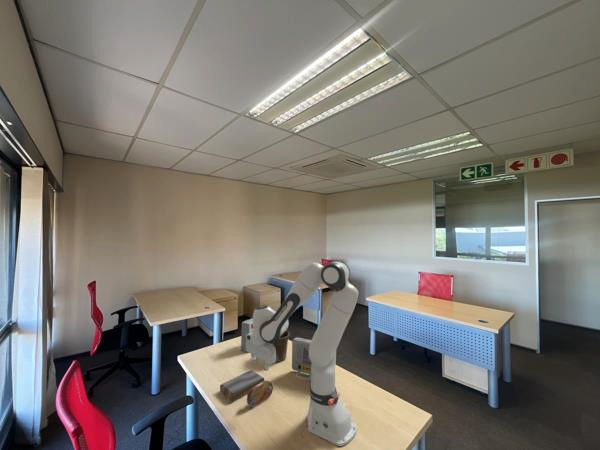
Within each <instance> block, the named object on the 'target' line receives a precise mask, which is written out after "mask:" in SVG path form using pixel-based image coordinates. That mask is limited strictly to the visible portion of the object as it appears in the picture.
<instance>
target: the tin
mask: <svg viewBox="0 0 600 450" xmlns="http://www.w3.org/2000/svg"><path fill="white" fill-rule="evenodd" d="M273 391H274V384H273V382H272V381H269V380H267V379H266V380H265V379H264V381H263V382H261V383H259V384H258V385H256V386H254V387H253V388H251V389H250V391H249V392H248V394H247V395H246V402H247V404H248V406H250V407H251V408H257V407H258V406H259V405H261V404H262V403H264V402H266V401H267V400H268V399H270V397H271V396H272V394H273Z"/></svg>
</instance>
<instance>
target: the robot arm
mask: <svg viewBox="0 0 600 450" xmlns="http://www.w3.org/2000/svg"><path fill="white" fill-rule="evenodd" d="M350 278H351V270H350V267H349V266H348V265H347V264H346V263H345V262H343V261H332V262H328V263H327V264H325V265H322V264H321V263H318V262H315V261H313V262H312V261H311V263H309V264H307V266H305V268H304V269H303V270H302V271H301V272H300V274H299V275H298V276H297V278H295V281H294V282H293V284H292V286H291V288H290V289H289V291H288V294H287V295H286V297H285V298H284V300H283V302H282V303H281V305H280V306H279V307H278V308H277V310H276V311H275V310H274V309H272V308H271V307H270V305H266V304H265V305H264V304H263V305H259V306H257V307H256V308H254V309H253V310H254V311H253V314H252V318H253V331H252V333H249V334H247V335H246V339H247V340H246V350H247V352H249V353H248V354H250V357H251V363H252V364H257V358H258V359H259V360H261V361H262V362H264V363H265V365H264V366H263V370H264V371H265V372H268V371H269V367H270V365H273V364H275V363H277V362H276V350H275V347H274V346H273V343H275V342H277V340H278V339H279V337H280V336H281V335H282V334H283V333H284V332H285V331H287V330H288V328H289V326H290V325H289V323H290V321H289V319H290V317H291V316H292V315H293V313H295V312H296V310H297V309H299V308H300V307H301V306H302V305H304V304H305V303H307V302H308V301H309V300H310V299H311V298H312V297H313V296H314V295H315V293H316V292H317V291H318V289H319V288H320V287H321V286H322V285H323V284H325V286H327V287H328V289H330V291H331V292H333V293H332V296H331V299H330V300H329V303H328V305H327V306H326V309H325V311H324V314H323V315H322V317H321V320H320V322H319V324H318V325H317V328H316V331H314V334H313V336H312V338H311V340H312V341H311V343H310V345H309V359H310V361H311V362H312V365H311V381H310V385H309V397H310V398H309V405H308V412H307V414H306V423H307V431H308V432H309V433H312V434H314V435H315V436H317V437H319V438H322V439H323V440H326V441H327V442H329V443H331V444H334V445H335V446H338V447H342V446H346V445H347V444H349V443H350V442H351V441H352V439H354V438H355V435H356V434H357V432H358V427H357V424H356V423H355V422H354V421H352V417H351V416H352V415H351V413H350V411H349V410H348V408H347V407H346V405H345V404H344V403H343V402H342V401H341V399H340V396H341V392H339V393H338V391H337V388H336V362H337V361H336V360H337V349H338V347H339V344H340V342H341V340H342V337H343V334H344V332H345V331H346V327H347V325H348V324H349V322H350V319H351V317H352V315H353V312H354V310H355V309H356V308H355V307H356V305H357V302H358V298H359V290H358V289H357V288H356V287H355V286H354V285H353V284H351V283H350V282H349V280H350ZM247 352H246V353H247Z"/></svg>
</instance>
